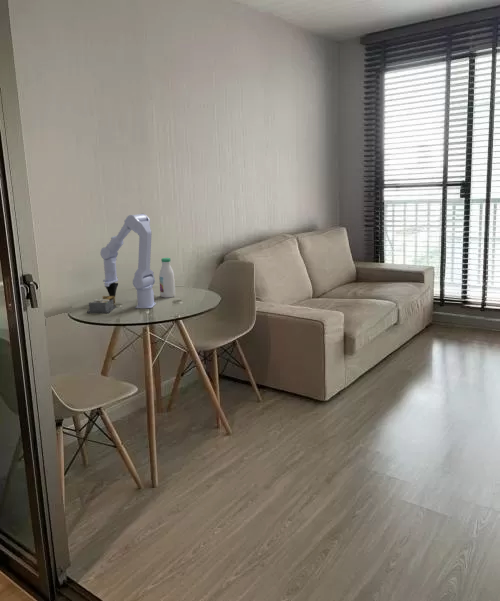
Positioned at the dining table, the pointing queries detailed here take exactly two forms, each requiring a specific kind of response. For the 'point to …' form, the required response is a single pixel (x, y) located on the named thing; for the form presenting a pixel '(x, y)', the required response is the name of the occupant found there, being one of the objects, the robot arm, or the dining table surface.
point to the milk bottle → (166, 279)
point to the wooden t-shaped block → (109, 298)
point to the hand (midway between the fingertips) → (112, 297)
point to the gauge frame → (101, 306)
